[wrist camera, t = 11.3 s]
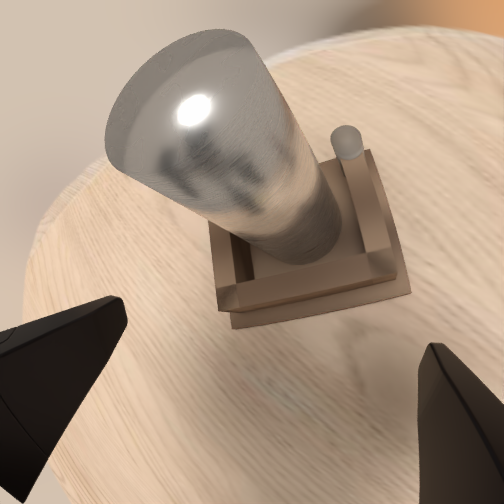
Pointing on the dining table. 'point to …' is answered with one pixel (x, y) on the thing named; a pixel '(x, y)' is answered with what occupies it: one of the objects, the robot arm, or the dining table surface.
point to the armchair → (328, 267)
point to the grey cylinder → (224, 146)
